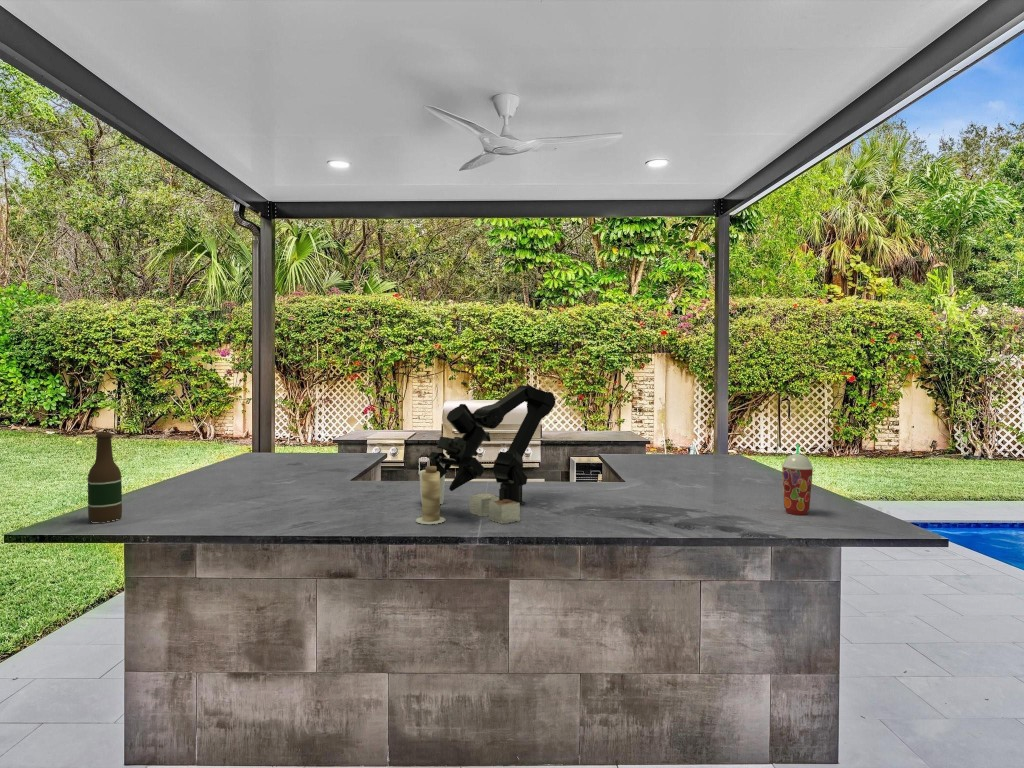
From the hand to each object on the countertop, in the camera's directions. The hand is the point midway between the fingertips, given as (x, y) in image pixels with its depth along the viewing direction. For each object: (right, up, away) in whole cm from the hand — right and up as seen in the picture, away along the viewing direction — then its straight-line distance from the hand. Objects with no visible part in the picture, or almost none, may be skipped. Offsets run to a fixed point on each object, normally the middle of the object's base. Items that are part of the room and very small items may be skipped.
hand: (439, 487), depth 172 cm
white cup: (-5, -8, +20) cm, 22 cm away
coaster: (-2, -9, -2) cm, 9 cm away
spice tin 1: (+12, -9, +7) cm, 17 cm away
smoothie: (+103, -9, +9) cm, 104 cm away
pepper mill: (-2, -8, -2) cm, 9 cm away
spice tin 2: (+18, -9, -1) cm, 20 cm away
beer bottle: (-91, -9, -2) cm, 92 cm away
